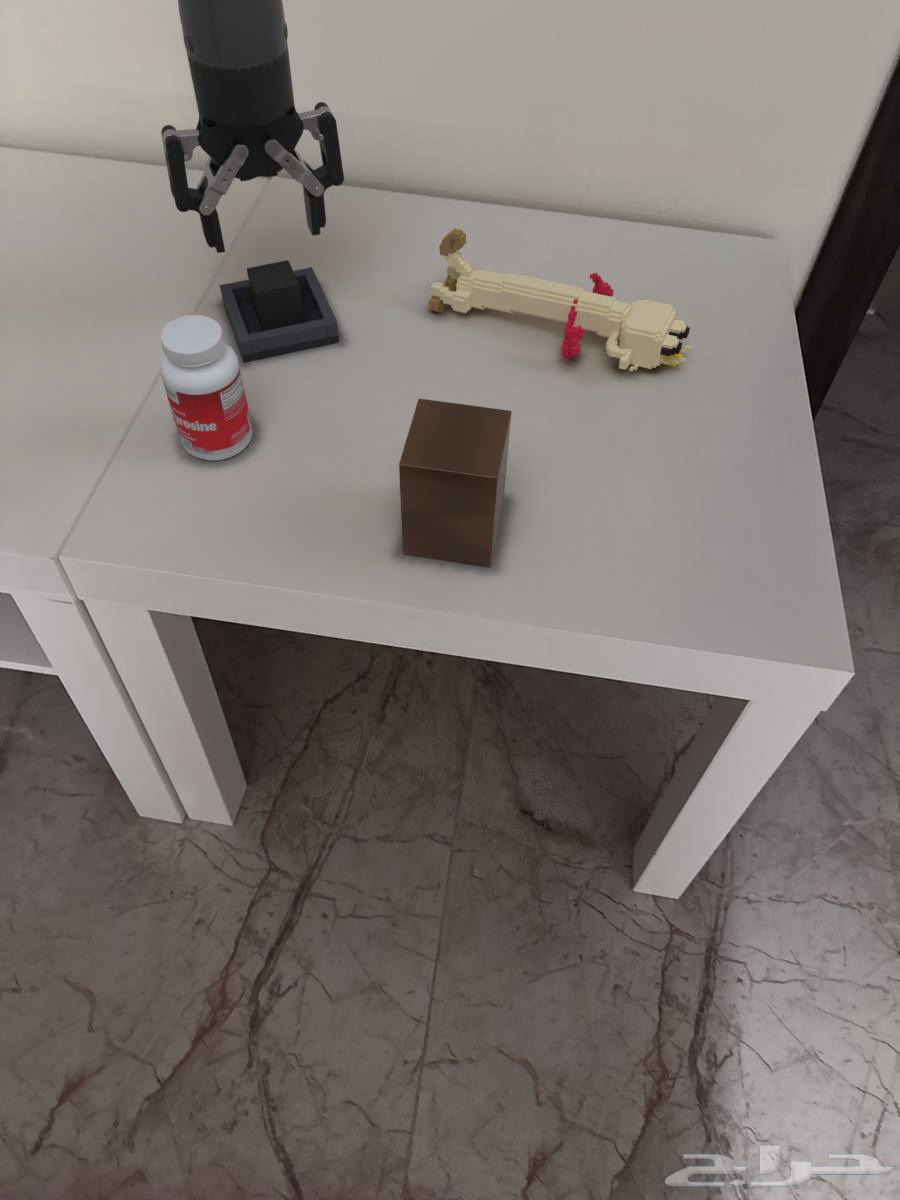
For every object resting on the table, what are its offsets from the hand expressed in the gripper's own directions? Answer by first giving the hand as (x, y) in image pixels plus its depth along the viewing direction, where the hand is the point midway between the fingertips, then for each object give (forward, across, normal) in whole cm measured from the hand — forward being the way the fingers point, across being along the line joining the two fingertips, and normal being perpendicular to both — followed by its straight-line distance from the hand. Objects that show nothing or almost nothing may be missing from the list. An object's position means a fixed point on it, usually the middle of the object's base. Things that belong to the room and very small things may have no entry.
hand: (267, 239), depth 82 cm
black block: (+8, 0, 0) cm, 8 cm away
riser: (+9, -7, +30) cm, 32 cm away
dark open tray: (+9, 0, 0) cm, 9 cm away
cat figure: (+9, -25, +10) cm, 28 cm away
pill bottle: (+10, +9, +13) cm, 19 cm away
